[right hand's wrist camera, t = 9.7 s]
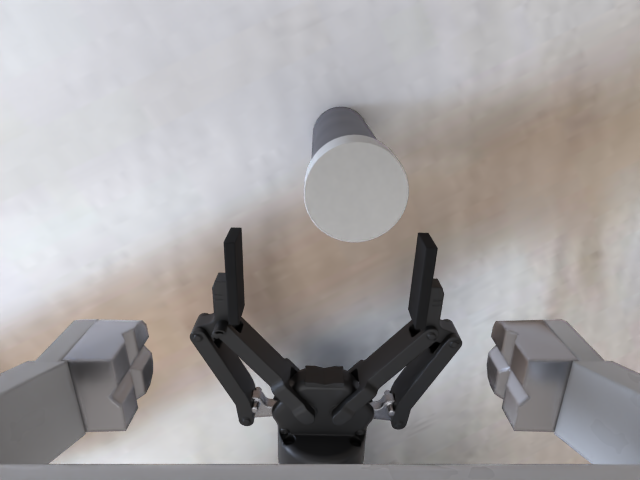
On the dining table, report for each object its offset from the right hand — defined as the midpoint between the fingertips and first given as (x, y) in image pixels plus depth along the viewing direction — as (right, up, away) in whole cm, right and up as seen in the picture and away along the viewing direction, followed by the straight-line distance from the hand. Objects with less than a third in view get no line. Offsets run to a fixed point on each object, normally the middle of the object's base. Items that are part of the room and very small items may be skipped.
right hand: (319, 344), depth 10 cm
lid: (+2, +5, +10) cm, 11 cm away
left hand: (+1, +3, +20) cm, 21 cm away
